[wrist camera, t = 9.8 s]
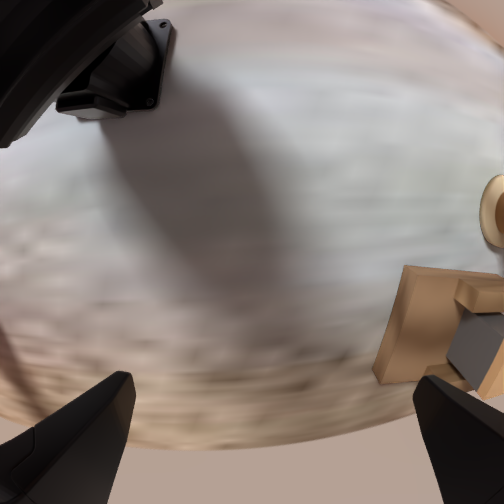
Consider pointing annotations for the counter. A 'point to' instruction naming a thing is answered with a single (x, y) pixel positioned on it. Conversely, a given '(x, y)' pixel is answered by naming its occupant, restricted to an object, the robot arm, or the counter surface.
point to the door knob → (493, 211)
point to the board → (432, 322)
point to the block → (480, 352)
